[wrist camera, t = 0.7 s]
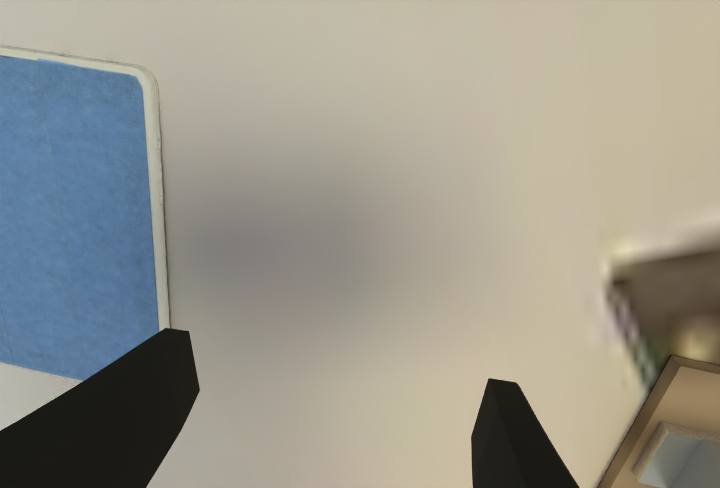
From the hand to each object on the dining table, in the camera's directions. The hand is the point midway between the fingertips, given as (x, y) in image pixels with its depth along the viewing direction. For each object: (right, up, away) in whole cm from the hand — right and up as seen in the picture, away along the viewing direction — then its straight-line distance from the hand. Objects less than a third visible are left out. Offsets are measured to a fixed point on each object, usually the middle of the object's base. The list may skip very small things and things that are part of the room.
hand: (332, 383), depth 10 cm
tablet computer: (-16, +4, +14) cm, 21 cm away
